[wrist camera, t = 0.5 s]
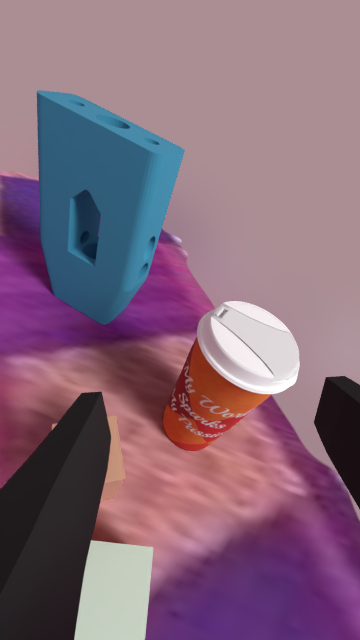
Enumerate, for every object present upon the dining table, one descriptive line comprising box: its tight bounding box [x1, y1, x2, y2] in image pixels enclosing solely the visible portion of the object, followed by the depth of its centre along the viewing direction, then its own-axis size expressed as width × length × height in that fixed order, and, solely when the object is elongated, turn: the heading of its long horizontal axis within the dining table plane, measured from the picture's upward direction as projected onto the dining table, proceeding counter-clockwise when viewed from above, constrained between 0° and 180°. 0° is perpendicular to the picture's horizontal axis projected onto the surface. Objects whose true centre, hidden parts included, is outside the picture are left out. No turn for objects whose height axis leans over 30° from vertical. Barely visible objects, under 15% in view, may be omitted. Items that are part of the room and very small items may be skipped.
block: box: [37, 91, 184, 325], centre depth 29 cm, size 12×5×20 cm, turn 64°
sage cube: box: [74, 540, 153, 640], centre depth 16 cm, size 4×4×5 cm
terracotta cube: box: [52, 416, 125, 501], centre depth 21 cm, size 4×4×5 cm
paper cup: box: [163, 301, 300, 451], centre depth 24 cm, size 8×8×14 cm
